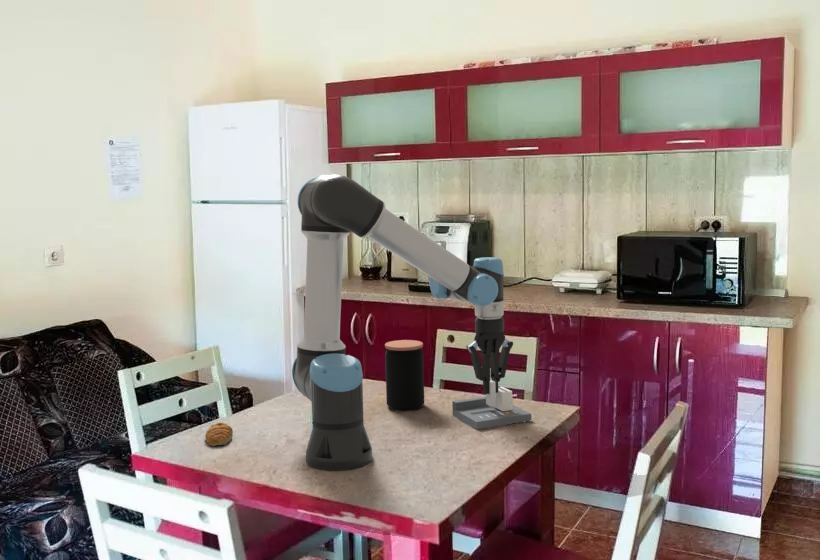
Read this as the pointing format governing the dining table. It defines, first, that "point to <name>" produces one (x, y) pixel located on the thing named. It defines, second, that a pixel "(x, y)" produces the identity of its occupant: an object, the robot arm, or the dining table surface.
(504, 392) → the fader
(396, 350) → the coffee jar
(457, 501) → the dining table surface
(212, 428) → the pastry
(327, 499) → the dining table surface
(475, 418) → the grey slider base
